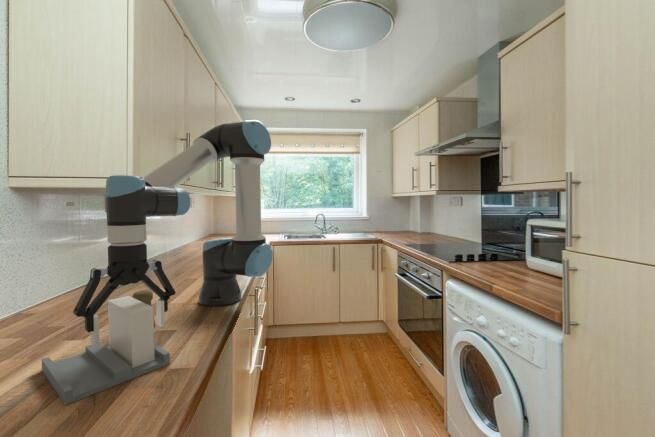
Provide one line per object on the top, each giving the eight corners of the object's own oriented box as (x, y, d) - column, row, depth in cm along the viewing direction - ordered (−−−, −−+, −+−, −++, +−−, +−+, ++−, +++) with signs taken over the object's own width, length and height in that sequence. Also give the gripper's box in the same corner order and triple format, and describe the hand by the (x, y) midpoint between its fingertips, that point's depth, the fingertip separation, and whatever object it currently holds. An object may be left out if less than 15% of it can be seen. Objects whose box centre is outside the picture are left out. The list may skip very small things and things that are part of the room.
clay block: (130, 342, 78) (128, 295, 78) (154, 359, 70) (153, 307, 69) (109, 349, 75) (107, 300, 74) (132, 368, 66) (130, 312, 66)
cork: (150, 322, 94) (149, 287, 94) (159, 327, 90) (158, 290, 90) (128, 328, 90) (126, 291, 89) (136, 334, 86) (134, 295, 85)
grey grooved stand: (135, 340, 82) (135, 331, 81) (169, 363, 70) (169, 352, 70) (42, 370, 67) (41, 359, 67) (65, 405, 55) (64, 391, 55)
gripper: (174, 237, 83) (176, 315, 84) (52, 248, 63) (56, 349, 64) (188, 239, 78) (190, 322, 79) (61, 251, 59) (66, 360, 60)
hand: (130, 334), depth 72 cm, fingers open, 13 cm apart
